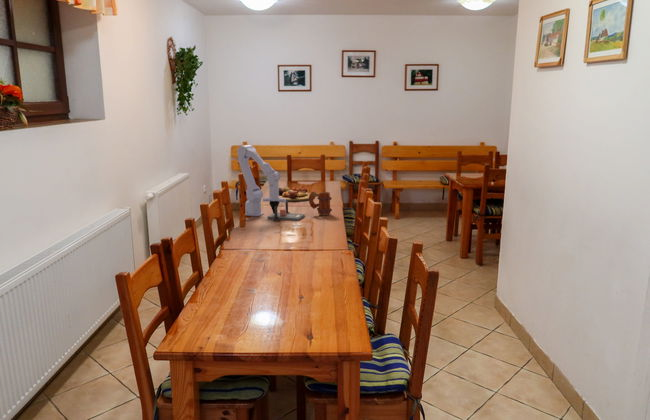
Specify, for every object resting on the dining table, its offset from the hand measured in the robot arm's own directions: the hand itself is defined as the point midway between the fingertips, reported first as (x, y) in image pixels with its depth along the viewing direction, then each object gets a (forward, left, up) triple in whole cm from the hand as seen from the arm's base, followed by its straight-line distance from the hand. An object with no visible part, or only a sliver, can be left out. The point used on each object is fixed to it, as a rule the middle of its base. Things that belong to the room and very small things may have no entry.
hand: (274, 213), depth 315 cm
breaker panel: (+8, 0, -2) cm, 8 cm away
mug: (+26, +13, -3) cm, 29 cm away
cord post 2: (+5, +9, -2) cm, 10 cm away
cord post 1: (+5, -9, -2) cm, 10 cm away
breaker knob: (+6, 0, -1) cm, 6 cm away
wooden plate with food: (-11, +63, -3) cm, 64 cm away
